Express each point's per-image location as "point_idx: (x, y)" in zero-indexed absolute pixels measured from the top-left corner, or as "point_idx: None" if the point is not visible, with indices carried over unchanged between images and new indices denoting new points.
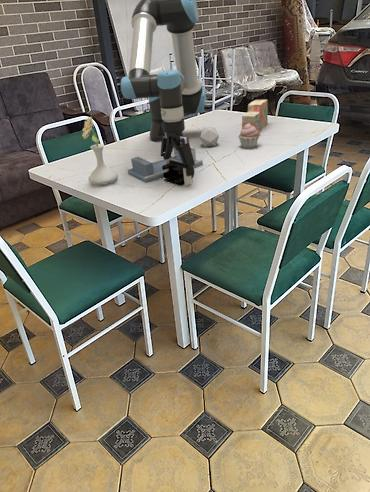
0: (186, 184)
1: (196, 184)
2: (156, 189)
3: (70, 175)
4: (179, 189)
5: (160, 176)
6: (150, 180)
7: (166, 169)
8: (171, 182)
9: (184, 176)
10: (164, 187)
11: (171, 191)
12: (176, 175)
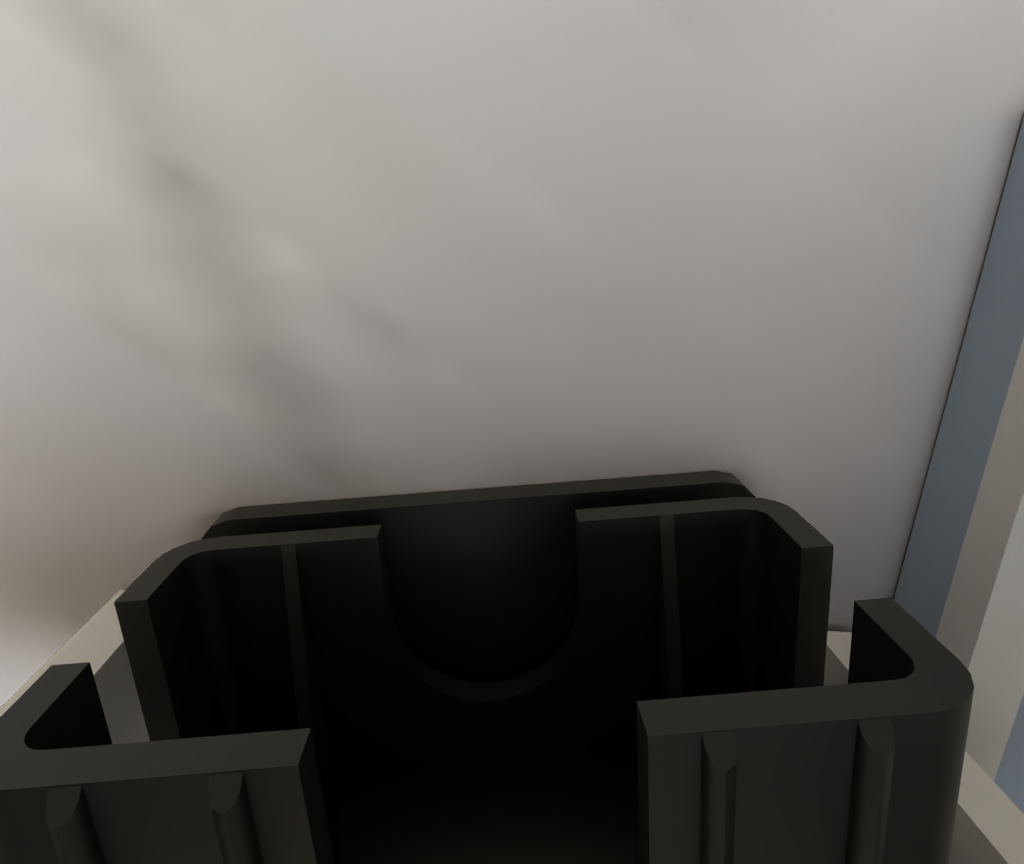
0: (110, 614)
1: None
2: (471, 17)
3: None
4: (54, 386)
5: (945, 530)
6: (1010, 250)
7: None
8: (489, 495)
9: None
10: (421, 238)
11: (75, 188)
12: (583, 735)
